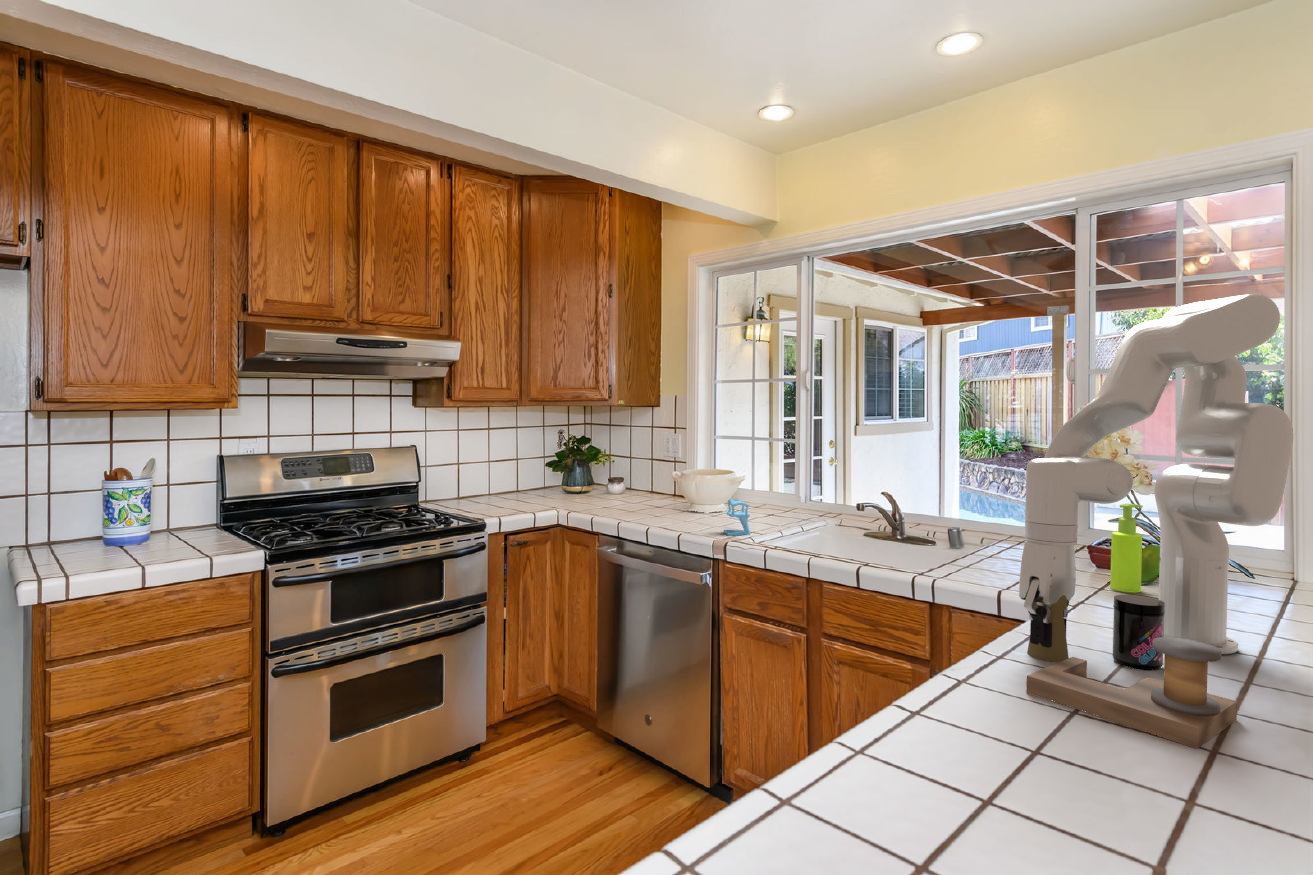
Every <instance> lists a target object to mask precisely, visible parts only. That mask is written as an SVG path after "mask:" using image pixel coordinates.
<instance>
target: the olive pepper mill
mask: <svg viewBox="0 0 1313 875" xmlns="http://www.w3.org/2000/svg"><path fill="white" fill-rule="evenodd" d="M1037 601H1038V602H1042V603H1044V602H1043V599H1041V598H1038V600H1037ZM1038 607H1039V608H1041V609H1042V610H1043V612H1044V607H1043V606H1038ZM1066 607H1067V597H1066V596H1065V595H1063V596H1061V597H1060V598H1059V600H1058V601H1057V603H1055V604H1052V605H1051V615H1050V622H1049V623H1052V646H1051V647H1049V648H1047V647H1043V646H1042V645H1041V644H1040V643H1039V644H1038V645H1036V644H1032V643H1031V642H1030V639H1028V640H1029V641H1028V647H1027V652H1026V653H1027V654H1028V655H1029V656H1031V657H1032V658H1035V659H1038V660H1042V661H1046V662H1055V663H1059V662H1061V661H1063V660H1066V659H1068V658H1070V657H1069V649H1068V642H1067V641H1068V640H1067V631H1066V632H1065V624H1064V615H1063V611H1064V610H1065V609H1066ZM1067 608H1068V607H1067Z"/></svg>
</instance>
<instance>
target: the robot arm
mask: <svg viewBox="0 0 1313 875" xmlns="http://www.w3.org/2000/svg"><path fill="white" fill-rule="evenodd" d="M1280 322H1281V312H1280V310H1279V307H1278V305H1277V304H1276V302H1274V301H1273V299H1271V298H1270V297H1268V296H1265V295H1263V294H1259V293H1247V294H1241V295H1234V296H1228V297H1223V298H1222V297H1221V298H1217V299H1210V300H1208V299H1207V300H1205V301H1204V300H1203V301H1202V300H1201V301H1196V302H1192V303H1191V302H1190V303H1188V304H1183V305H1181V306H1177V307H1176V306H1175V307H1174V308H1172V309H1169V311H1167V312H1166V313H1165V314H1164V315H1163V317H1162V318H1159V319H1153V320H1148V321H1144V322H1141V323H1139V324H1136V325H1134V326H1133V327H1131V328H1130V329H1129V331H1127V333H1126V334H1125V336H1124V338H1123V340H1122V342H1121V345H1120V346H1119V349H1117V350H1118V351H1117V353H1116V355H1115V357H1114V359H1113V362H1112V364H1111V366H1110V368H1109V370H1108V372H1107V374H1106V377H1105V379H1104V381H1103V383H1102V384H1101V387H1100V389H1099V391H1098V393H1097V395H1096V396H1095V397H1094V398H1093V400H1091V401H1090V402H1088V403H1087V404H1085V405H1084V406H1083V407H1082V408H1081V409H1079V411H1077V412H1076V413H1075V414H1074V415H1073V416H1071V418H1070V419H1068V420H1067V421H1066V422H1065V423H1064V424H1063V425H1062V426H1061V427H1060V428H1059V430H1058V431H1057V432H1056V433H1055V435H1054V437H1053V438H1052V440H1051V442H1050V444H1049V446H1048V448H1047V450H1046V452H1045V454H1044V456H1043V458H1034V459H1031V460H1029V462H1028V463H1027V465H1026V475H1025V476H1026V477H1025V510H1024V511H1025V512H1024V514H1025V515H1024V517H1025V518H1024V520H1025V521H1024V540H1025V542H1024V546H1023V550H1022V554H1021V563H1020V570H1019V571H1020V573H1019V582H1018V583H1019V585H1018V596H1019V599H1020V600H1022V601H1024V603H1023V607H1024V608H1025V610H1027V612H1028V614H1029V616H1028V618H1029V620H1030V625H1029V626H1030V630H1029V634H1030V635H1029V640H1030V642H1031V643H1032V644H1036V645H1038V644H1039V643H1040V644H1041V645H1042V646H1043V647H1047V648H1049V647H1051V646H1052V623H1049V622H1050V615H1051V605H1052V604H1055V603H1057V601H1058V600H1059V598H1060V597H1061V596H1063V595H1065V596H1066V597H1067V607H1066V609H1065V610H1064V611H1063V615H1064V624H1065V632H1066V633H1067V621H1068V620H1067V618H1068V615H1069V610H1068V607H1069V606H1070V601H1071V599H1073V598H1074V596H1075V593H1076V583H1077V582H1076V580H1077V572H1076V569H1077V568H1076V564H1077V563H1076V551H1075V550H1076V549H1075V546H1077V545H1078V528H1079V526H1078V525H1079V523H1078V518H1079V512H1078V511H1079V502H1086V503H1093V504H1099V505H1100V504H1102V505H1105V504H1106V505H1110V504H1114V503H1117V502H1120V501H1122V500H1123V499H1125V498H1126V497H1127V496H1128V495H1129V493H1130V492H1131V491H1132V489H1133V485H1134V479H1133V476H1132V473H1131V471H1130V470H1129V468H1128V467H1126V466H1125V465H1124V464H1123V463H1121V462H1119V461H1117V460H1114V459H1111V458H1104V457H1103V458H1102V457H1091V456H1087V455H1088V453H1089V452H1090V451H1091V450H1092V449H1093V448H1094V447H1095V445H1097V444H1098V443H1099V442H1101V441H1102V440H1103V439H1104V438H1105V439H1106V437H1109V436H1110V435H1112V434H1114V433H1116V432H1119V431H1123V430H1124V429H1126V428H1128V427H1129V428H1130V427H1131V426H1134V425H1135V424H1138V423H1140V422H1142V421H1145V420H1147V419H1149V418H1150V417H1151V416H1152V415H1153V414H1154V413H1155V412H1156V409H1157V406H1158V404H1159V401H1160V400H1161V397H1162V395H1163V393H1164V390H1165V389H1166V387H1167V384H1168V383H1169V382H1168V381H1169V380H1170V378H1171V376H1172V373H1173V372H1174V371H1175V370H1176V369H1180V368H1183V369H1182V370H1183V373H1184V379H1185V380H1184V385H1183V386H1184V389H1183V395H1182V399H1181V404H1180V410H1179V415H1178V420H1177V425H1176V426H1177V427H1176V432H1175V433H1176V434H1175V441H1176V445H1177V447H1178V449H1179V450H1180V451H1181V452H1183V453H1184V454H1187V455H1188V456H1189V455H1190V456H1193V457H1199V458H1206V459H1207V458H1209V459H1221V460H1222V459H1224V460H1225V459H1226V460H1234V464H1233V465H1234V466H1225V465H1223V466H1222V465H1217V464H1216V465H1215V464H1214V465H1213V464H1199V463H1183V464H1176V465H1173V466H1169V467H1168V468H1166V469H1164V470H1163V471H1161V472H1160V474H1159V475H1158V477H1157V478H1156V480H1155V483H1154V499H1155V503H1156V508H1157V512H1158V519H1159V532H1160V534H1159V535H1160V537H1159V540H1160V542H1159V543H1160V544H1159V570H1158V572H1159V574H1158V575H1159V577H1158V600H1160V601H1163V602H1164V603H1165V614H1164V637H1171V638H1181V639H1188V640H1193V641H1198V642H1202V643H1205V644H1209V645H1212V646H1214V647H1216V648H1218V649H1220V650H1221V652H1222V655H1230V654H1234V653H1237V652H1239V645H1238V642H1237V641H1235V640H1234V639H1233V638H1229V637H1227V629H1228V628H1227V624H1228V622H1227V621H1228V598H1229V597H1228V594H1229V593H1228V590H1229V589H1228V588H1229V564H1230V561H1229V559H1230V546H1229V542H1228V539H1227V537H1226V534H1225V532H1224V531H1223V529H1222V527H1221V525H1220V524H1219V523H1222V524H1229V525H1230V524H1231V525H1236V526H1244V527H1247V526H1248V527H1259V526H1263V525H1266V524H1268V523H1270V522H1271V521H1272V520H1273V519H1274V518H1275V517H1276V515H1277V514H1278V512H1279V511H1280V507H1281V506H1282V503H1283V497H1284V493H1285V488H1286V484H1287V483H1286V482H1287V477H1288V472H1289V467H1290V462H1291V457H1292V451H1293V444H1294V428H1293V425H1292V422H1291V419H1290V417H1289V416H1288V415H1287V412H1286V411H1284V410H1283V409H1281V408H1280V407H1278V406H1276V405H1274V404H1270V403H1263V402H1262V403H1261V402H1246V394H1247V388H1248V387H1247V386H1248V375H1247V372H1246V369H1245V367H1244V366H1243V364H1242V362H1241V361H1240V360H1239V359H1238V358H1237V355H1238V356H1239V354H1242V353H1244V352H1248V351H1250V350H1252V349H1255V348H1257V347H1259V346H1262V345H1263V344H1265V343H1267V341H1269V340H1270V339H1271V338H1272V337H1273V336H1274V335H1275V334H1276V332H1277V330H1278V328H1279V326H1280ZM1038 598H1041V599H1043V602H1044V603H1042V602H1038V601H1037V600H1038ZM1038 606H1043V607H1044V612H1043V610H1042V609H1041V608H1039V607H1038Z"/></svg>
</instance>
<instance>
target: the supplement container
mask: <svg viewBox="0 0 1313 875" xmlns="http://www.w3.org/2000/svg"><path fill="white" fill-rule="evenodd" d="M1112 607H1113V619H1112V620H1113V621H1112V622H1113V624H1112V626H1113V627H1112V658H1113V660H1114V661H1115V662H1116V664H1118V665H1121V666H1123V667H1126V668H1130V669H1133V668H1134V670H1138V669H1139V670H1140V671H1158V670H1160V669H1161V668H1162V667H1163V666H1164V654H1163V653H1160V652H1158V651H1156V650H1155V649H1154V648H1153V647H1152V646H1153V639H1155V638H1160V637H1164V614H1165V603H1164V602H1163V601H1160V600H1159V599H1157V598H1155V597H1148V596H1143V595H1135V594H1115V595H1113V605H1112Z"/></svg>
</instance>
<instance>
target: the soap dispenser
mask: <svg viewBox="0 0 1313 875" xmlns="http://www.w3.org/2000/svg"><path fill="white" fill-rule="evenodd" d="M1119 508H1122V516H1121V517H1118V525H1117V526H1118V527H1117V528H1118V529H1117V531H1112V532H1111V544H1110V545H1111V547H1110V548H1111V549H1110V582H1109V583H1110V589H1111V590H1114V591H1116V592H1121V593H1135V594H1137V593H1141V591H1142V563H1143V561H1142V560H1143V534H1140V533H1138V532H1137V519H1136V518H1134V517H1133V508H1138V509H1139V508H1140V509H1142V508H1143V505H1141V504H1134V503H1122V504H1119Z"/></svg>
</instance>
